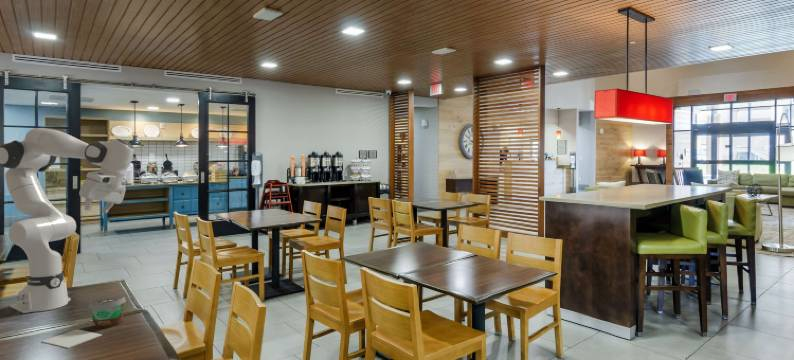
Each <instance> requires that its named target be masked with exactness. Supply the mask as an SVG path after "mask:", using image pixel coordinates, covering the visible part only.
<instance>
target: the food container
mask: <svg viewBox="0 0 794 360" xmlns="http://www.w3.org/2000/svg"><path fill="white" fill-rule="evenodd" d="M126 302H127V300H126V297H125V296H123V297H121V298H118V299H105V300H100V301H93V302H92V301H91V300H89V302H88V308H89V309H90V310H91V311H90V312H91V315H92V316H91V317H92V323H93V328H96V329H107V328H113V327H116V326H119V325H120V324H122V323H123V318H124V317H123V316H124V315H123V314H124V305H125V303H126Z"/></svg>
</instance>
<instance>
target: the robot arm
mask: <svg viewBox="0 0 794 360" xmlns="http://www.w3.org/2000/svg"><path fill="white" fill-rule="evenodd" d="M134 152H135V147H134V146H133V145H132V144H131V143H129V142H127V141H125V140H123V139H121V138H114V139H113V140H109V141H108V140H107V141H99V140H98V141H97V140H95V141H91V142H90V143H87V142H85V141H83V140H81V139H78V138H77V137H75V136H72V135H71V134H68V133H67V132H64V131H62V130H57V129H53V128H46V127H39V128H38V127H35V128H32V129H30V130H28V131H27V132H26V133H25V137H24V140H21V141H18V140H13V141H10V142H6V143H3V144H1V145H0V167H1V168H5V169H7V170H6V172H5V175H4V176H5V182H6V185H7V189H8V193H9V194H10V197H11V198H12V201H13V204H14V205H15V208H16V209H17V210H18V212H19V213H21V214H24V215H26V216H27V215H28V217H29V216H30V217H31V218H26V219H22V220H20V221H19V220H18V221H17V222H14V223H13V224H11V225H10V227H9V229H8V238H9V240H10V242H12V244H14V245H16V246H18V247H20V248H21V249H22V251H24V253H25V255H26V257H27V261H28V269H29V275H28V276H27V277H26V280H27V282H26V285H25V286H24V287H23V288H22V289H21V290H20V291H19V292H18V293H17V296H16V302H14V303H12V304H10V308H11V309H14V310H16V311H18V312H20V313H22V314H27V313H33V312H44V311H51V310H55V309H58V308H62V307H64V306H66V305H68V303H69V302H70V301H71V297H69V296H68V288H67V283H66V282H64V272H63V269H62V268H63V266H62V256H61V253H59V252H58V251H56V250H54V249H52V248H50V245H49V242H50V243H51V242H54V241H61V240H63V239H66V238H68V237H71V236H73V235H74V234H75V232H76V230H77V223H76V220H75V219H74V218H73V217H72V216H70V215H68V214H66V213H63V212H61V211H60V210H59V209H58V208H56V207H55V206H54V205H53V204H52V203H51V202H50V200H49V198H48V197H47V195H46V192H45V190H44V188H43V186H42V184H41V182H40V180H39V178H38V173H39V172H40V173H43V172H45V171H46V170H47V169H48V168H50V167H52V165H54V163H55V162H56V160H57V157H59V158H72V159H83V160H86V161H87V162H88V163H90V164H93V165H95V166H99V167H100V169H99V170H96V171H95V170H94V171H88V172H87V174H86V178H85V180H84V181H83V183H82V185H81V186H80V189H79V191H78V192H79V197H81V198H85V199H84V210H85V211H92V208H93V206H92V203H93V201H99V202H106V205H105V206H104V207H102V209H101V212H102V213H105V214H107V213H109V211H110V209H111V208H112V207H113V206H114V204H117V205H118V204H122V202H123V200H124V197H125V194H126V190H127V189H126V188H127V185H126V182H124V178H125V176H126V170H127V169H128V168H129V166H130V164H131V162H132V160H133V157H134Z"/></svg>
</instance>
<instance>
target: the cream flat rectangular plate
mask: <svg viewBox="0 0 794 360" xmlns="http://www.w3.org/2000/svg"><path fill="white" fill-rule="evenodd" d="M102 336H103V334H102V333H101V334H100V333H97V332H93V331H92V332H91V331H87V330H83V329H79V328H76V329H73V330H70V331H67V332H65V333H61V334H59V335H56V336H52V337H49V338H47V339H44V340H41V343H45V344H49V345H53V346H57V347H61V348H66V349H70V348H74V347H76V346H78V345H80V344H83V343H87V342H88V341H91V340H94V339H98V338H99V337H102Z"/></svg>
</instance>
